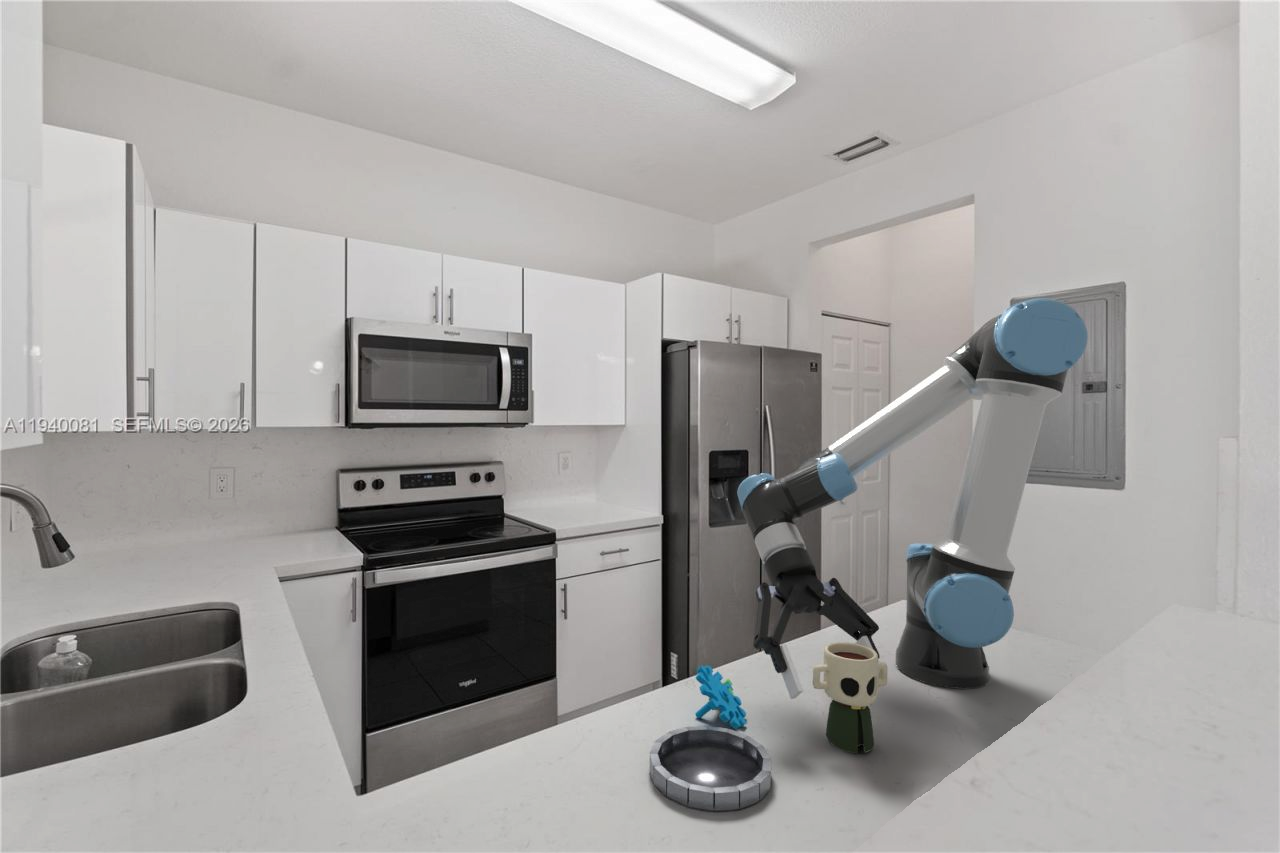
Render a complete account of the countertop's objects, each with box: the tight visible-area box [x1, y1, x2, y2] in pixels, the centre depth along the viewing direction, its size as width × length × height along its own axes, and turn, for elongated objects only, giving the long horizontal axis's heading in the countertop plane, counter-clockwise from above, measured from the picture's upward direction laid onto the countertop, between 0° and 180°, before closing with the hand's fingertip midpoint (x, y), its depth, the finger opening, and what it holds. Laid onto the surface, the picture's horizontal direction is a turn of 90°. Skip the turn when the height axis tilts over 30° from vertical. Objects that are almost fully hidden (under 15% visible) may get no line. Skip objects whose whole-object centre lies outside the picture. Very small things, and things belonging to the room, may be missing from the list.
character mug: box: [812, 641, 889, 754], centre depth 82 cm, size 11×7×13 cm, turn 98°
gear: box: [694, 664, 747, 730], centre depth 89 cm, size 11×6×10 cm
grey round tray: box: [648, 725, 773, 813], centre depth 75 cm, size 15×15×2 cm
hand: (840, 689), depth 83 cm, fingers open, 13 cm apart
